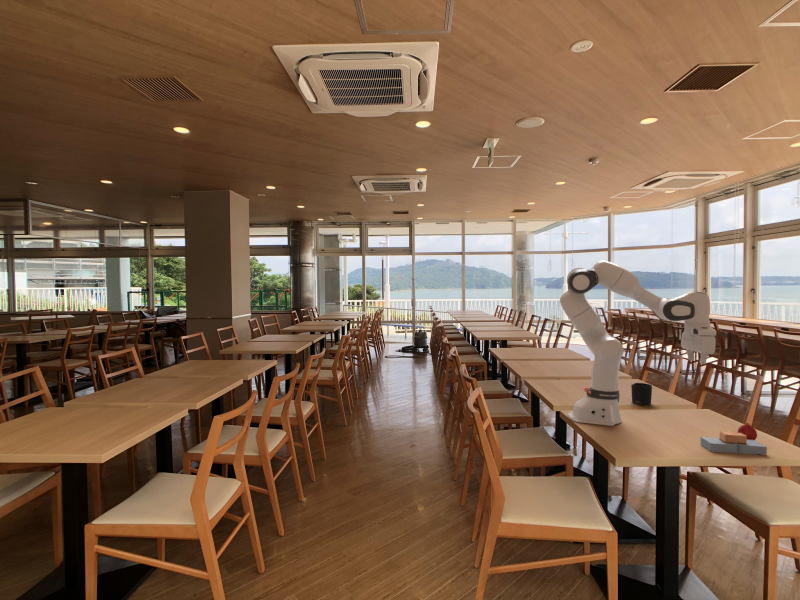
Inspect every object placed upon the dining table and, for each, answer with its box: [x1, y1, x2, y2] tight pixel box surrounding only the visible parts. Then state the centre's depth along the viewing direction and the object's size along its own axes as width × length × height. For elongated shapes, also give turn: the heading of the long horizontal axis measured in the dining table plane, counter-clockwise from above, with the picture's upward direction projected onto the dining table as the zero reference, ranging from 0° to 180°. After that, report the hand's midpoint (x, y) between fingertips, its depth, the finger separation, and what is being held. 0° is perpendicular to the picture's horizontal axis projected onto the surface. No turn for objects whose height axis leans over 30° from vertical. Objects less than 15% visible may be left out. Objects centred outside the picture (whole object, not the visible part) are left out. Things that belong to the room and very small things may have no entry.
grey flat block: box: [700, 436, 768, 455], centre depth 153 cm, size 18×7×3 cm, turn 79°
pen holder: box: [631, 382, 653, 406], centre depth 217 cm, size 9×9×10 cm
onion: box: [737, 422, 758, 441], centre depth 160 cm, size 6×6×8 cm
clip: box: [719, 431, 747, 444], centre depth 153 cm, size 7×4×6 cm, turn 79°
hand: (696, 362), depth 174 cm, fingers open, 8 cm apart
